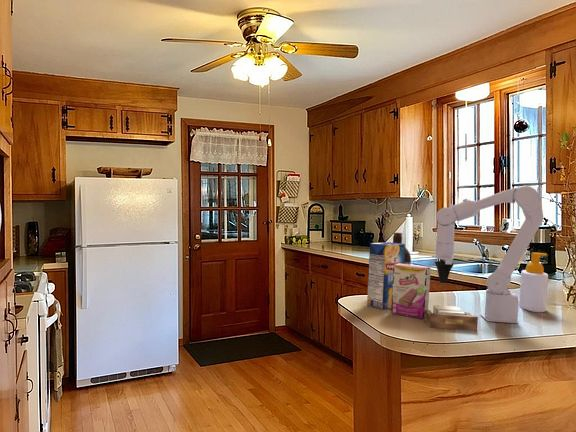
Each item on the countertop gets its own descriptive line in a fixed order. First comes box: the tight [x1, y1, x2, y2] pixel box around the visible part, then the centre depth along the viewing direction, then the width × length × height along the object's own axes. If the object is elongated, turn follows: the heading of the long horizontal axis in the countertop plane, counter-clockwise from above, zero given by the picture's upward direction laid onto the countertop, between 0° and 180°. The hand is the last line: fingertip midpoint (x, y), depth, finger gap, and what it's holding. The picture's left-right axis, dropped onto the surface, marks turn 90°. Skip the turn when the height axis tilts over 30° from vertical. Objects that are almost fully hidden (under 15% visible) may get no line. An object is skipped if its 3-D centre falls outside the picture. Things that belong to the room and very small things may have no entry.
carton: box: [432, 304, 465, 315], centre depth 147 cm, size 8×9×4 cm
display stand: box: [424, 309, 479, 332], centre depth 145 cm, size 14×10×4 cm
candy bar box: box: [390, 263, 432, 320], centre depth 155 cm, size 11×5×16 cm, turn 59°
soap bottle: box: [518, 252, 549, 313], centre depth 172 cm, size 13×8×20 cm, turn 168°
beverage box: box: [366, 241, 406, 310], centre depth 168 cm, size 7×11×22 cm, turn 130°
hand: (442, 282), depth 162 cm, fingers closed
